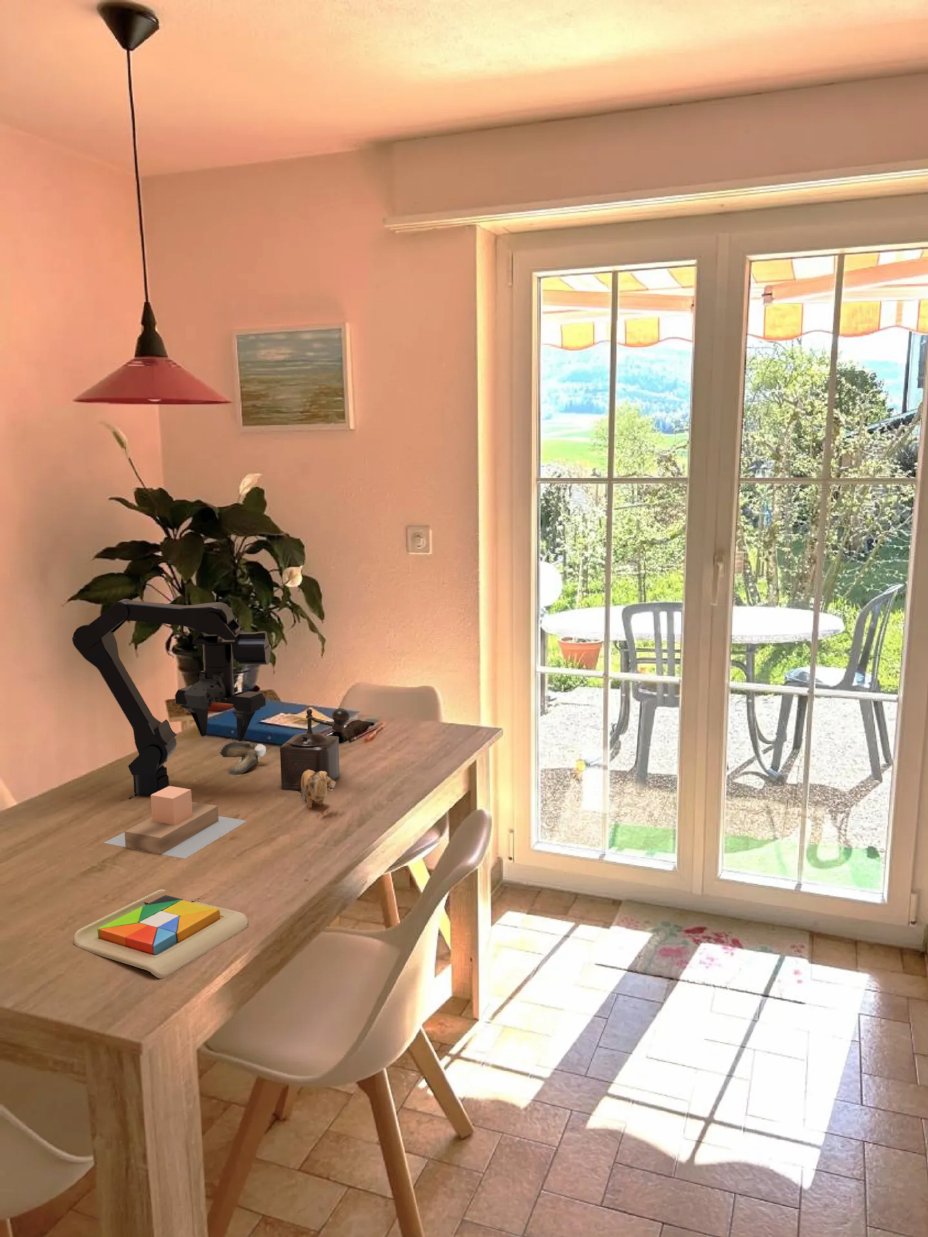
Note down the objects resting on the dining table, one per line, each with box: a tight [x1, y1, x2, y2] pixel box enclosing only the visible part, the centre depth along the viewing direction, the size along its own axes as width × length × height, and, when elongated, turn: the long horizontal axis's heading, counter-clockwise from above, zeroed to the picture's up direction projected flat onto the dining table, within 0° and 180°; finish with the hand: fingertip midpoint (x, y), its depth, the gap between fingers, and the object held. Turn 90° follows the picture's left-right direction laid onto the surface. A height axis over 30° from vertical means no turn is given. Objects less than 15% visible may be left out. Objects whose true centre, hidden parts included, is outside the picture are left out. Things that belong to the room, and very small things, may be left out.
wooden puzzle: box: [73, 889, 249, 979], centre depth 131 cm, size 18×19×4 cm
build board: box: [103, 815, 247, 860], centre depth 166 cm, size 18×18×1 cm
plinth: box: [123, 801, 219, 855], centre depth 165 cm, size 8×16×3 cm, turn 158°
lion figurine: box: [299, 770, 337, 812], centre depth 181 cm, size 15×5×9 cm, turn 31°
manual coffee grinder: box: [279, 707, 351, 792], centre depth 193 cm, size 16×11×18 cm
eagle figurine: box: [219, 741, 267, 776], centre depth 204 cm, size 8×7×9 cm
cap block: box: [150, 785, 193, 825], centre depth 164 cm, size 5×5×5 cm
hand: (221, 738), depth 185 cm, fingers open, 9 cm apart
